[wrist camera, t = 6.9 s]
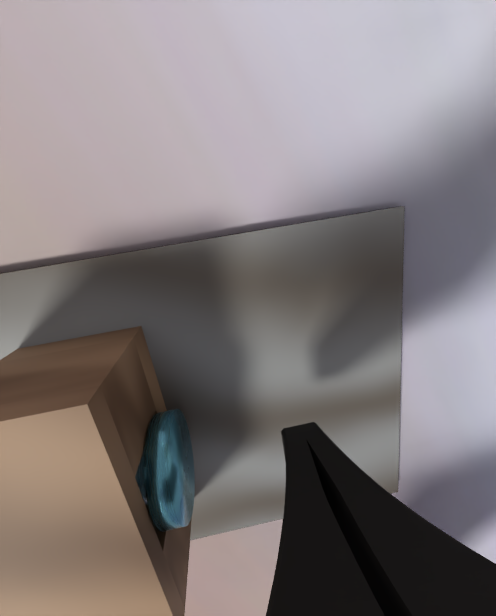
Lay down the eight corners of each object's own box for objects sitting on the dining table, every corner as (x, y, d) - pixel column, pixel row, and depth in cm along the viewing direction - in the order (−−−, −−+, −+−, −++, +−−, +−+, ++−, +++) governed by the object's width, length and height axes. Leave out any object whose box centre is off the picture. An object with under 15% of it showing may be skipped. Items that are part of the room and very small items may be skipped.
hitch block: (393, 485, 17) (477, 608, 11) (17, 573, 15) (-87, 759, 10) (398, 206, 12) (551, 195, 6) (-161, 300, 10) (-555, 384, 5)
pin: (197, 459, 13) (190, 554, 10) (-61, 515, 13) (-179, 642, 9) (177, 389, 12) (161, 466, 8) (-110, 446, 11) (-272, 559, 8)
